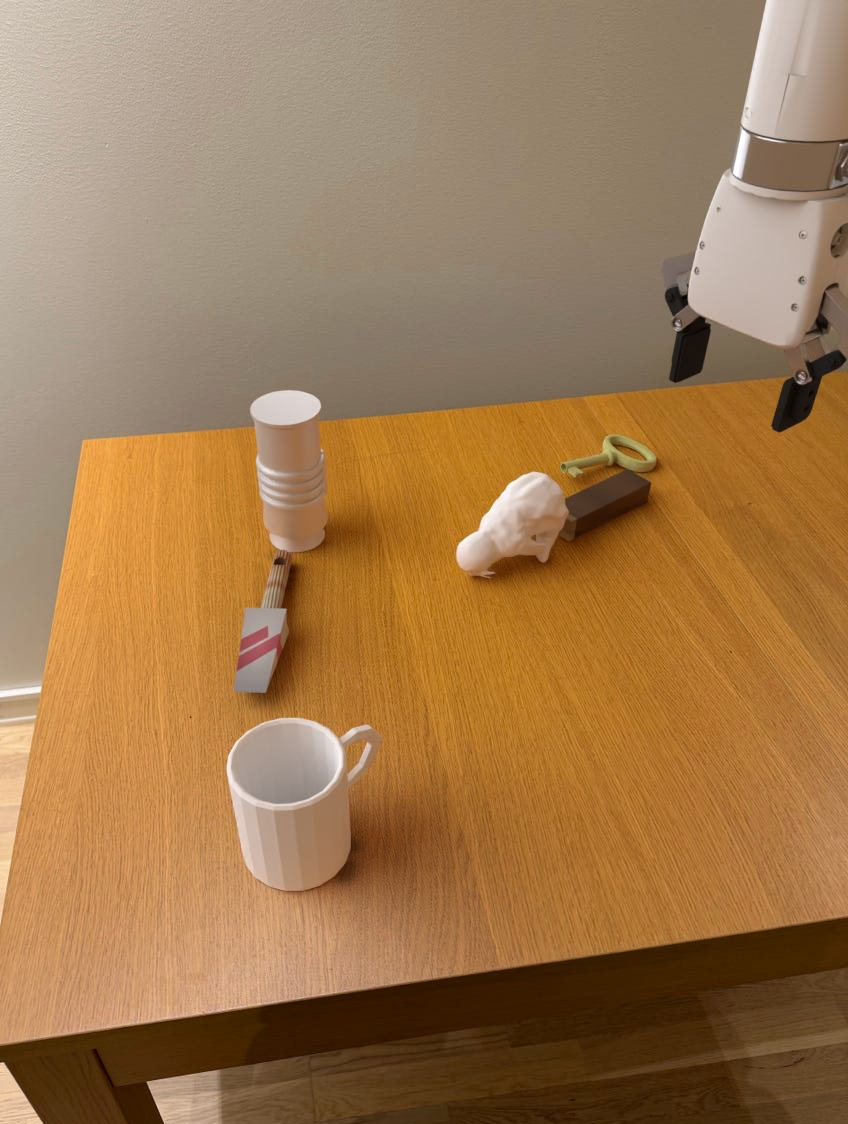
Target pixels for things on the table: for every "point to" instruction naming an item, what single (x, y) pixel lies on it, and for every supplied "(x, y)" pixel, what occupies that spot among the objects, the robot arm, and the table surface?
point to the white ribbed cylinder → (291, 469)
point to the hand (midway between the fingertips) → (734, 400)
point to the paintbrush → (264, 631)
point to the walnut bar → (604, 502)
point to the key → (613, 457)
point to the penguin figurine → (516, 525)
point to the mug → (295, 799)
